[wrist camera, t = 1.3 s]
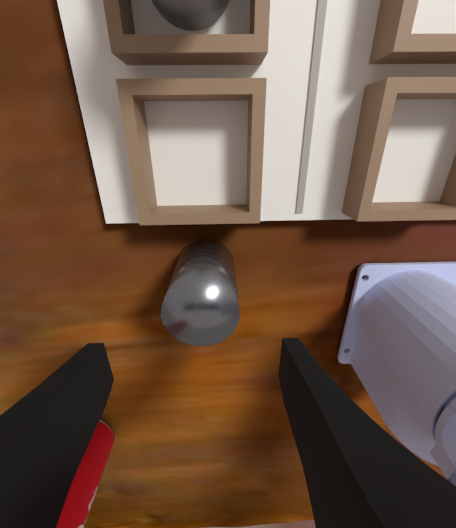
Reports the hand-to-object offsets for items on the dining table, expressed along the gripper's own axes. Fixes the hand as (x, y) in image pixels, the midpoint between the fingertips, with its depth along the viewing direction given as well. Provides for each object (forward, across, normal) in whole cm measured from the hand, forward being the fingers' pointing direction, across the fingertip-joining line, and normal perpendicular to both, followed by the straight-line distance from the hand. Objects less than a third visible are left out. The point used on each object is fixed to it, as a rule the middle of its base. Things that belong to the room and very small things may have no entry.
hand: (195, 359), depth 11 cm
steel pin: (+9, 0, 0) cm, 9 cm away
